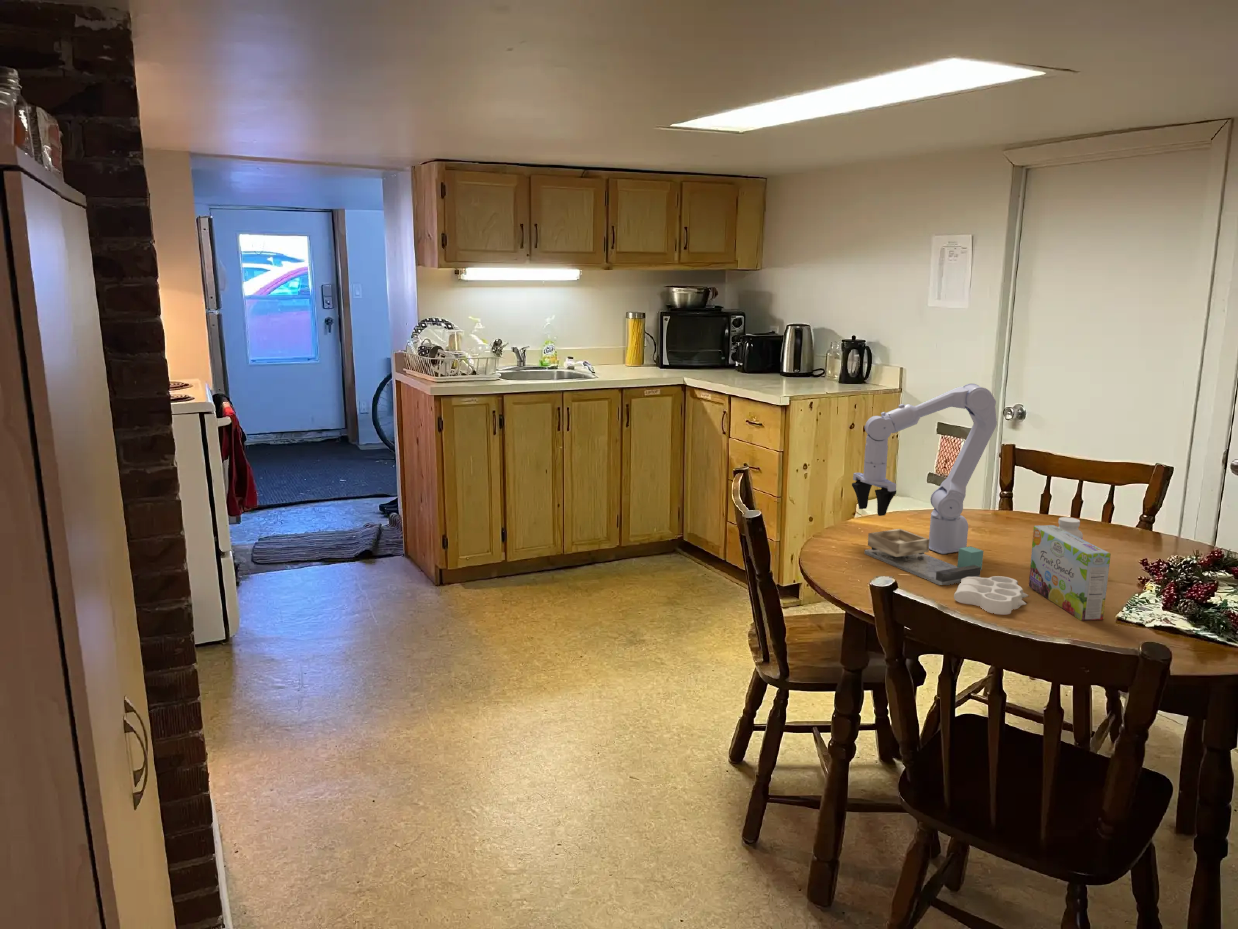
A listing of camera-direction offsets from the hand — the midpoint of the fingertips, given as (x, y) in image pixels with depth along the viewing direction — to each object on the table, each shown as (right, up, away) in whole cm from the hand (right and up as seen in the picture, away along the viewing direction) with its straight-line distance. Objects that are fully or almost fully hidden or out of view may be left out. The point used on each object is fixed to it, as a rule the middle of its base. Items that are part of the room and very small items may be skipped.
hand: (872, 511), depth 233 cm
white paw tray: (+16, -18, -37) cm, 44 cm away
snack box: (+31, -18, -39) cm, 53 cm away
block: (+20, -13, -16) cm, 29 cm away
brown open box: (+4, -10, -8) cm, 13 cm away
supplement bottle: (+43, -14, -16) cm, 48 cm away
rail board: (+8, -13, -14) cm, 21 cm away
